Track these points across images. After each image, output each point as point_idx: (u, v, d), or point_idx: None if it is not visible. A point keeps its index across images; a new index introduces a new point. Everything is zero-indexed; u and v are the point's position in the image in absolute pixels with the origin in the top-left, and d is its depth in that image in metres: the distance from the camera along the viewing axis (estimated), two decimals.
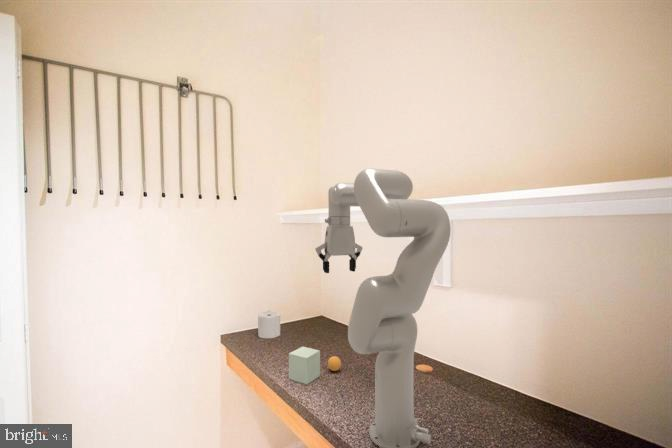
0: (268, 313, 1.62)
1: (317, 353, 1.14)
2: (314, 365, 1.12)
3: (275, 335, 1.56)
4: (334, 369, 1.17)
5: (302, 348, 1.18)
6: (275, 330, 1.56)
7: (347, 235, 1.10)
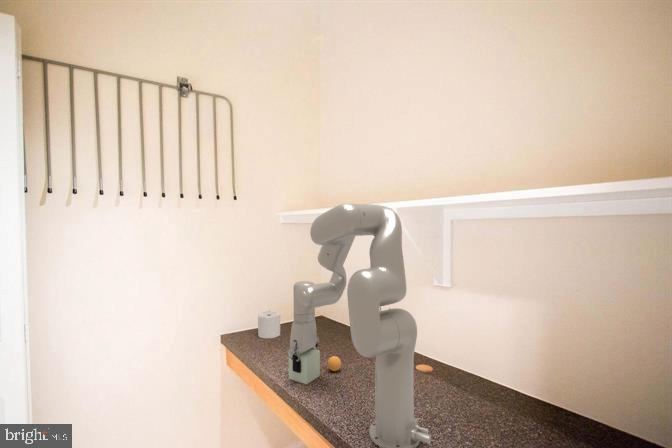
0: (268, 313, 1.62)
1: (317, 353, 1.14)
2: (314, 365, 1.13)
3: (275, 335, 1.56)
4: (334, 369, 1.17)
5: None
6: (275, 330, 1.56)
7: None
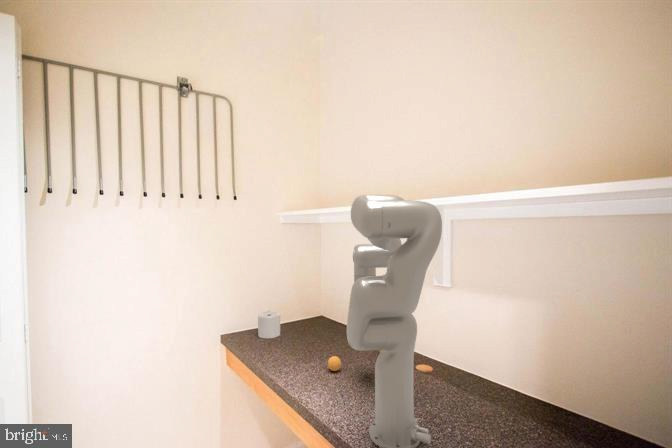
0: (268, 313, 1.62)
1: None
2: None
3: (275, 335, 1.56)
4: (334, 369, 1.17)
5: None
6: (275, 330, 1.56)
7: None
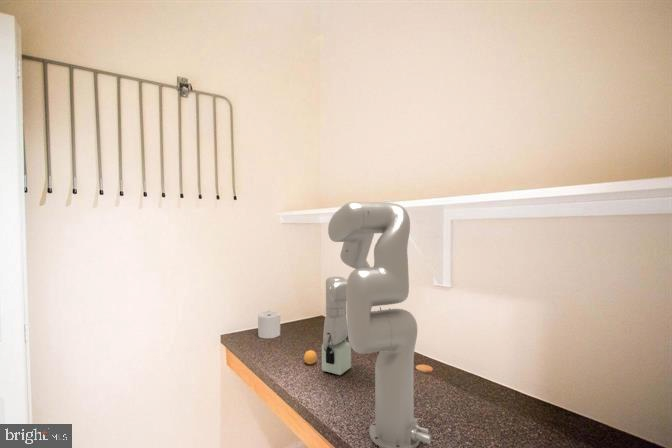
0: (268, 313, 1.62)
1: (348, 345, 1.19)
2: (346, 357, 1.17)
3: (275, 335, 1.56)
4: (304, 359, 1.25)
5: None
6: (275, 330, 1.56)
7: None
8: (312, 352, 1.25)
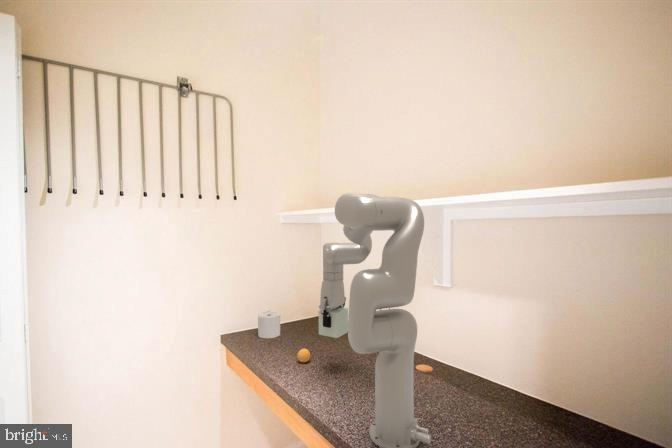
0: (268, 313, 1.62)
1: (345, 310, 1.20)
2: (343, 321, 1.18)
3: (275, 335, 1.56)
4: (301, 361, 1.26)
5: None
6: (275, 330, 1.56)
7: None
8: (300, 350, 1.28)
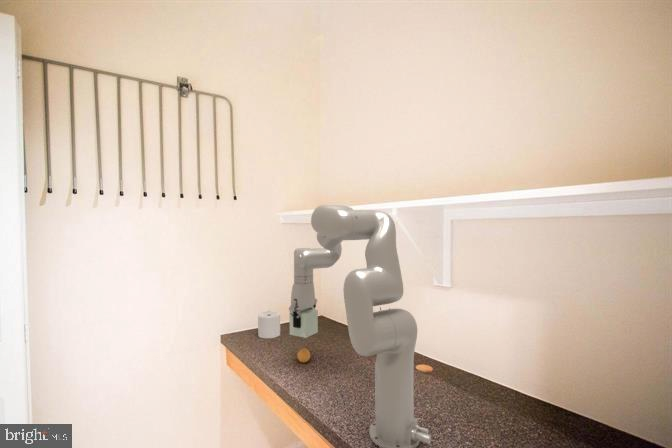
0: (268, 313, 1.62)
1: (315, 312, 1.27)
2: (312, 322, 1.25)
3: (275, 335, 1.56)
4: (301, 361, 1.26)
5: None
6: (275, 330, 1.56)
7: None
8: (300, 350, 1.28)
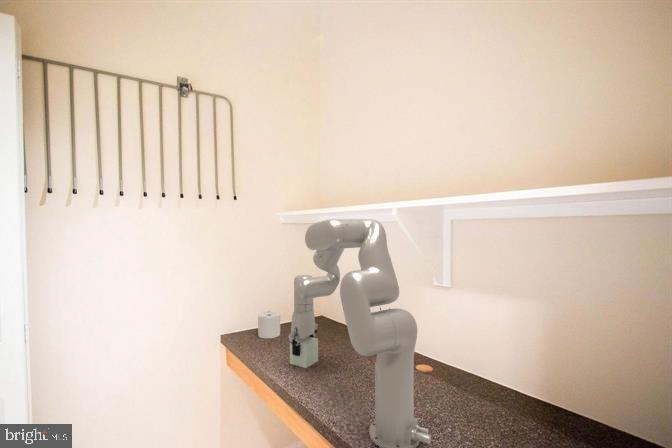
0: (268, 313, 1.62)
1: (315, 341, 1.27)
2: (312, 351, 1.25)
3: (275, 335, 1.56)
4: None
5: None
6: (275, 330, 1.56)
7: None
8: None
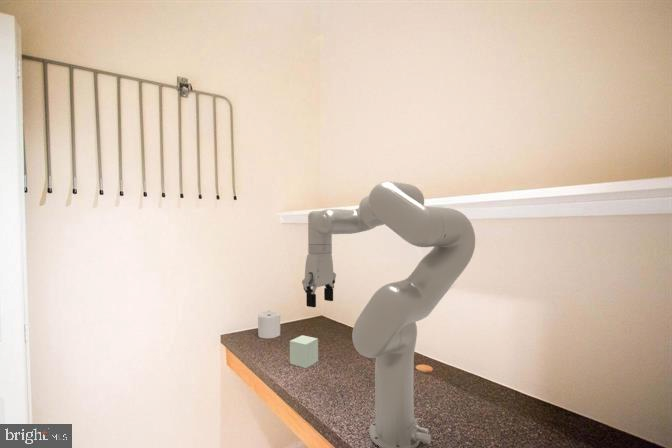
0: (268, 313, 1.62)
1: (315, 341, 1.27)
2: (312, 351, 1.25)
3: (275, 335, 1.56)
4: None
5: (302, 336, 1.30)
6: (275, 330, 1.56)
7: None
8: None
